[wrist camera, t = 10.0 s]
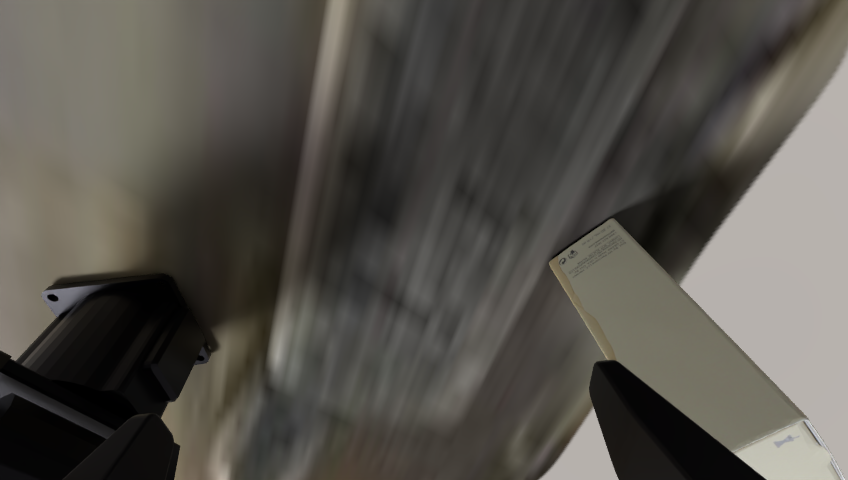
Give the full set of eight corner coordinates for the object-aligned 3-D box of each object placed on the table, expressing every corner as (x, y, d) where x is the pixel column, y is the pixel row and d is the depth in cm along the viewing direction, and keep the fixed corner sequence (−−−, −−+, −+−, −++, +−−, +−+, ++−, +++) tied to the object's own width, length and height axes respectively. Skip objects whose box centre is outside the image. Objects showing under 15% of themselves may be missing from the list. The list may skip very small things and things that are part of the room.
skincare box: (545, 260, 24) (668, 479, 13) (614, 212, 22) (811, 415, 12) (597, 317, 26) (732, 534, 16) (662, 278, 25) (853, 488, 15)
